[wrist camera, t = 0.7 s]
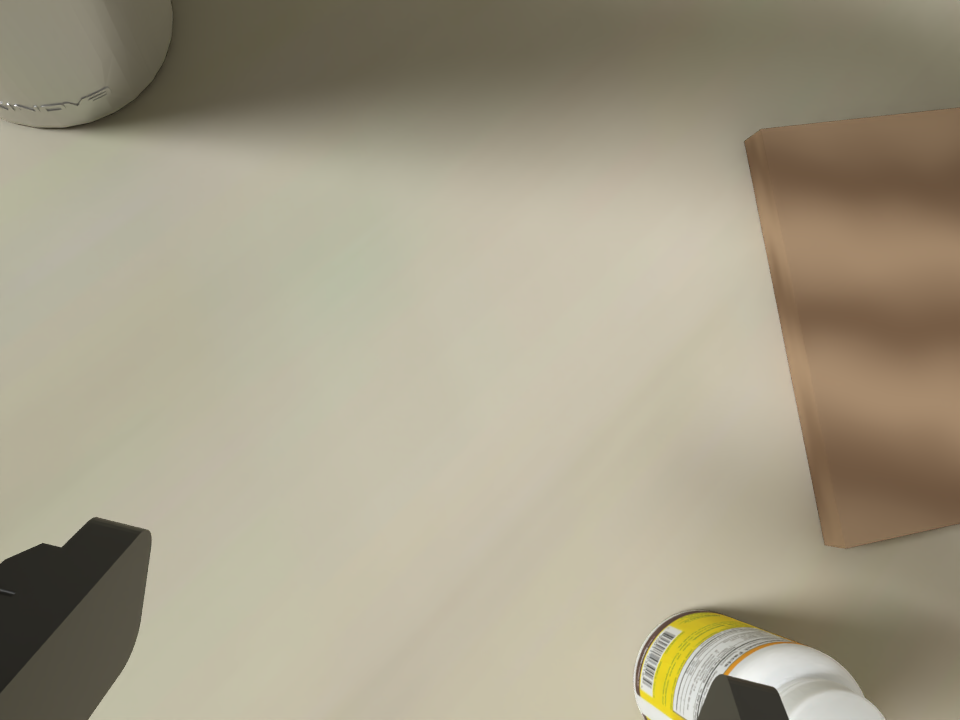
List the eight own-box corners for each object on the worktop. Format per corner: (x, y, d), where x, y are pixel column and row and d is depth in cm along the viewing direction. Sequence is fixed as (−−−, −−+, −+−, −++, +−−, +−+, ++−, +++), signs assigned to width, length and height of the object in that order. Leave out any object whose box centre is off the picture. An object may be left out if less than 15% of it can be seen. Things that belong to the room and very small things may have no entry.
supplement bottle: (766, 728, 36) (939, 832, 26) (641, 760, 35) (772, 882, 25) (741, 593, 37) (901, 645, 27) (616, 620, 35) (735, 685, 26)
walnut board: (744, 141, 39) (761, 129, 37) (1010, 111, 42) (1035, 99, 40) (824, 545, 38) (845, 548, 36) (1094, 486, 40) (1123, 487, 39)
